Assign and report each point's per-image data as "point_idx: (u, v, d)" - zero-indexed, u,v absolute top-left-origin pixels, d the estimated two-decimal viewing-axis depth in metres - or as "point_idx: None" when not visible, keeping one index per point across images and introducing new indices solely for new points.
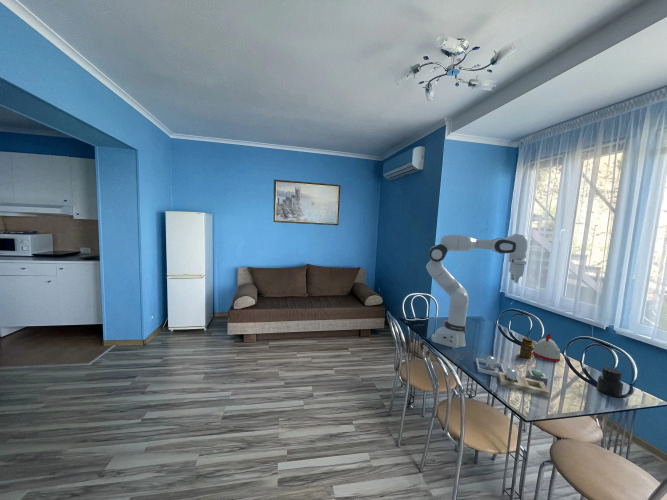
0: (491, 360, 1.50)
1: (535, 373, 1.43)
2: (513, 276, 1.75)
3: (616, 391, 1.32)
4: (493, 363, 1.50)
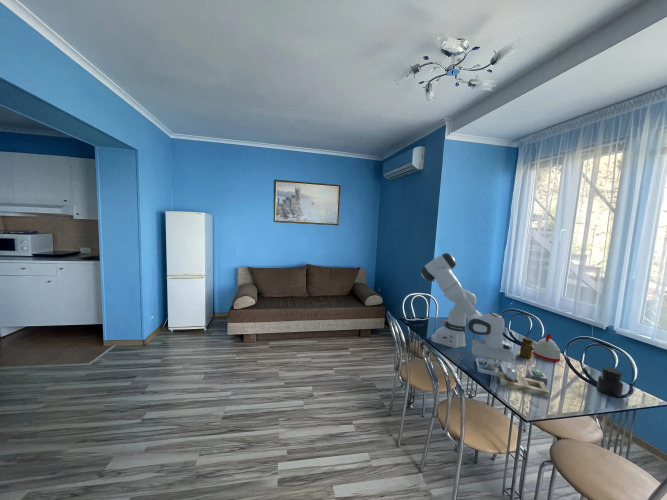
0: (491, 360, 1.50)
1: (535, 373, 1.43)
2: None
3: (616, 391, 1.32)
4: (493, 363, 1.50)
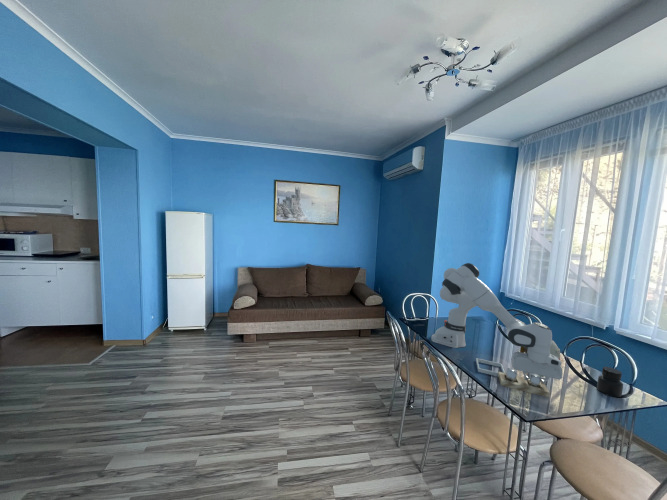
0: (536, 379, 1.33)
1: None
2: None
3: (616, 391, 1.32)
4: (538, 382, 1.33)
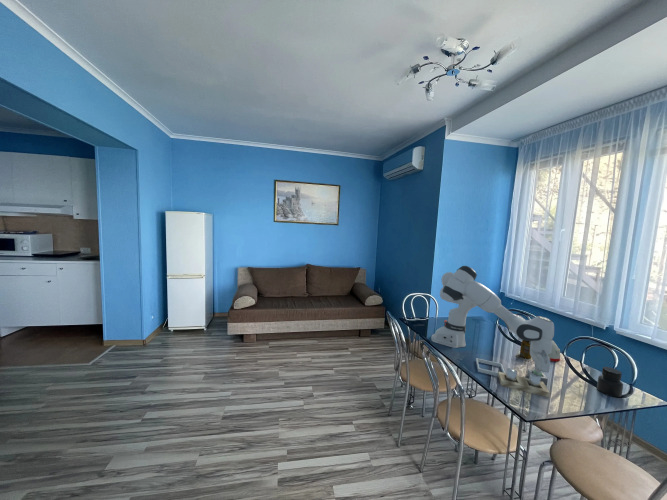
0: (536, 379, 1.33)
1: None
2: None
3: (616, 391, 1.32)
4: (538, 382, 1.33)
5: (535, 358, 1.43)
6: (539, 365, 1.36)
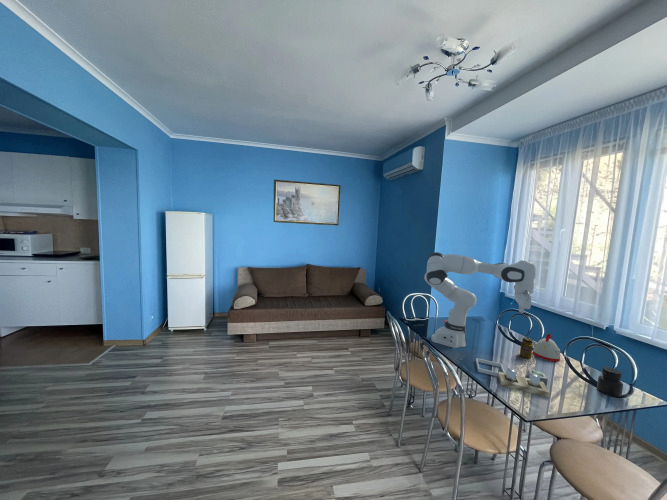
0: (536, 379, 1.33)
1: None
2: None
3: (616, 391, 1.32)
4: (538, 382, 1.33)
5: (519, 299, 1.55)
6: (522, 303, 1.48)
